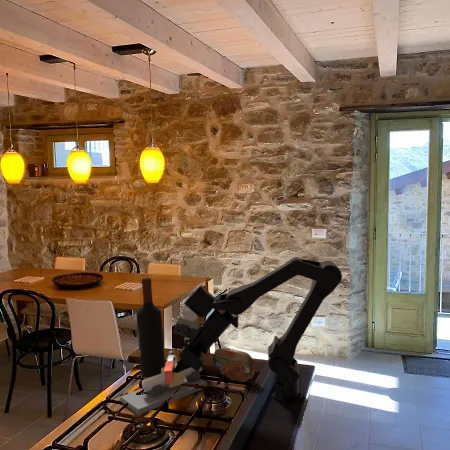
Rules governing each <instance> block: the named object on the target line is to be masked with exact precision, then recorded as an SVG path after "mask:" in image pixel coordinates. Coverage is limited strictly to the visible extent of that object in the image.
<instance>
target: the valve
mask: <svg viewBox="0 0 450 450" xmlns="http://www.w3.org/2000/svg"><path fill="white" fill-rule="evenodd" d="M176 365H177V364H175V365H174V369H175V367H176ZM164 369H165V367H164V368H161V374H159V375H156V376H153V377H150V378H147V379H145V378H144V379H143V380H142V381H141V386H142V388H140V389H137V390H135V391H132V392H129V393H127V394H124V395H121V396H120V402H121V403H122V404H123V405H124V404H125V403H128V406H126V407H127V408H129V409H130V410H131V411H132V412H134V413H135V414H137V415H138V416H140V415H142V414H144V413H147V412H149V411H152V410H154V409H157V408H160V407H161V406H160V405H161V404H162V403H163V402H164V401H166V400H168V399H169V398H170V397H172V398H171V399H170V400H169V402H168V403H167V404H169V403H173V402H174V401H177V400H179V399H182V398H184V397H186V396H187V397H188V396H190V395H191V394H194V393H196V392H199V391H201V390H202V389H200V388H199V389H196V388H194V387H190V386H186V385H185V386H182V385H181V384H183V383H186V384H199V385H204V386H207V387H208V382H207V381H206V380H204V379H202V378H201V372H202V370H203V366H202V367H201V368H200V369H199V370H198V371H195V370H194V369H193V368H192V367H191V368H188V369H186V370H183V371H181V372H179V373H175V372H174V380H173V383H170V384H165V376H164ZM161 387H162V389H161ZM179 387H180V389H179V390H178V391H177V392H176V393H175V394H174V392H175V391H176V390H177V389H178V388H179ZM141 389H144V391H145V392H147V393H148V394H143V395H142V394H141V395H136V393H137V392H139V391H140V390H141ZM159 406H160V407H159Z"/></svg>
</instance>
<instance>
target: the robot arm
mask: <svg viewBox="0 0 450 450" xmlns="http://www.w3.org/2000/svg"><path fill="white" fill-rule="evenodd" d="M296 276H300V277H303V278H307V279H308V280H312V282H311V285H310V289H309V290H308V293H307V294H306V296H305V297H304V299H303V301H302V302H301V303H302V304H301V305H300V307H299V309H298V310H297V311H296V314H295V315H294V317H293V318H292V320H291V323H290V324H289V325H288V327H287V329H286V331H285V333H284V334H283V335H281V336H280V337H278V336H277V335H274V337H273V340H272V342H271V343H270V345H269V346H268V347H267V358H268V362H267V363H268V368H269V369H270V371H271V372H273V373H274V374H275V376H274V378H275V381H274V393H271V398H274V399H276V400H278V401H280V402H282V403H285V404H287V405H291V404H293V403H295V402H298V401H299V400H301V399H303V398H305V397H306V394H305V393H303V392H301V374H300V373H301V372H300V370H299V364H298V360H297V359H296V358H295V354H296V351H297V346H298V344H299V342H300V340H301V339H302V337H303V335H304V334H305V332H306V330H307V328H308V327H309V325H310V324H311V321H312V320H313V319H314V316H315V315H316V314H317V312H318V310H319V308H320V306H321V304H322V303H323V302H324V300H325V299H326V298H327V297H328V296H330V294H331V293H333V292H334V291H335V289H337V287H338V286H339V285H340V283H341V281H343V280H342V279H343V274H342V271H341V269H340V268H339V266H338V265H337V264H336V263H335V262H334V261H331V260H324V261H318V260H317V261H316V260H311V259H305V258H300V257H297V256H295V257H292V258H291V259H289V260H288V261H287V262H285V263H283V264H282V265H280V266H278V267H277V268H275V269H273V270H271V271H270V272H269V273H266V274H265V275H263V276H262V277H260V278H258V279H257V280H255V281H253V282H250V283H248V284H247V283H246V284H243V285H240V286H237V287H235V288H232V289H230V290H229V291H227V293H223V294H217V295H215V296H214V295H213V294H212V293H211V292H209V291H208V290H207V288H205V286H204V285H203V284H200V285H199V286H198V287H197V288H196V289H195V290H194V291H192V293H191V294H189V296H188V298H186V300H185V301H184V302H183V305H185V306H186V307H188V308H189V309H190V310H191V311H193V312H194V313H195V314H196V315H197V318H203V317H204V318H205V320H204V321H200V323H198V325H197V324H195V323H193V322H191V321H188V320H186V319H183V317H179V318H178V319H177V320H176V323H175V325H174V329H173V332H172V333H173V334H174V335H177V336H178V335H179V336H182V337H183V338H184V337H186V338H189V339H188V340H187V339H186V340H185V343H183V344H184V346H182V347H181V349H180V351H179V354H178V357H179V360H177V365H176V367H175V369H174V372H175V373H179V372H181V371H183V370H186V369H188V368H191V367H192V368H193V369H194V370H195V371H198V370H199V369H200V368H201V367H202V368H203V364H204V355H207V354H208V353H209V349H210V348H211V347H212V346H213V345H214V344H216V343H217V342H218V341H219V339H220V337H221V335H223V333H224V332H225V331H226V330H227V329H228V328H229V326H230V325H232V326H233V327H234V328H235V329H238V328H239V325H240V323H239V318H240V317H239V316H240V315H242V314H243V313H245V312H246V310H247V309H249V308H251V306H252V305H253V304H254V303H255V302H256V301H257V300H258V299H259V298H261V297H262V296H264V295H266V294H267V293H269V292H271V291H272V290H274V289H276V288H278V287H279V286H282V285H283V284H284V283H286V282H288V281H289V280H291V279H293V278H295V277H296ZM211 311H212V312H211ZM210 312H211V313H210ZM208 315H209V316H208ZM207 316H208V317H207Z"/></svg>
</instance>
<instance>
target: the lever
mask: <svg viewBox="0 0 450 450" xmlns="http://www.w3.org/2000/svg"><path fill="white" fill-rule="evenodd" d="M175 353H176V351H175V350H172V349H171V350H169V351H168V352H167V355H168V356H166V360H165V369H164V376H165V384H170V383H173V380H174V365H175V364H177V363H178V357H177V355H176V354H175Z"/></svg>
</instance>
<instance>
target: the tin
mask: <svg viewBox="0 0 450 450" xmlns="http://www.w3.org/2000/svg"><path fill="white" fill-rule="evenodd" d="M212 363H213V366H214V367H213V368H215V367H217V368H218V369H219V370H220V372H221V373H222V374H226V377H225V378H227V379H230V380H234V381H237V382H239V383H245V382H247V381H249V380H251V379H252V378H253V377H254V376H255V372H256V365H255V364H256V363H255V361H254V359H253V357H252V356H251V354H249V353H248V352H246V351H243V350H239V349H235V348H230V347H225V346H224V347H222V348H218V349H216V350H215V351H214V353H213V355H212ZM222 374H221V375H222ZM221 375H220V376H221Z"/></svg>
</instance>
